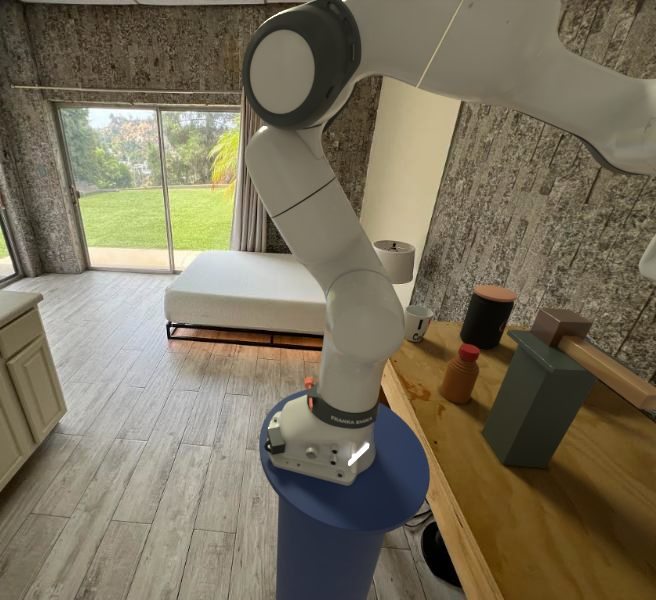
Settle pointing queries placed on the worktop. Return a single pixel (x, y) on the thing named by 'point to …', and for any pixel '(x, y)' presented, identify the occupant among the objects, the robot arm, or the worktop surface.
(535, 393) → the stand
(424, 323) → the cup
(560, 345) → the mallet
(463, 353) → the cap
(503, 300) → the coffee jar
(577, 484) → the worktop surface
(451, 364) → the bottle
